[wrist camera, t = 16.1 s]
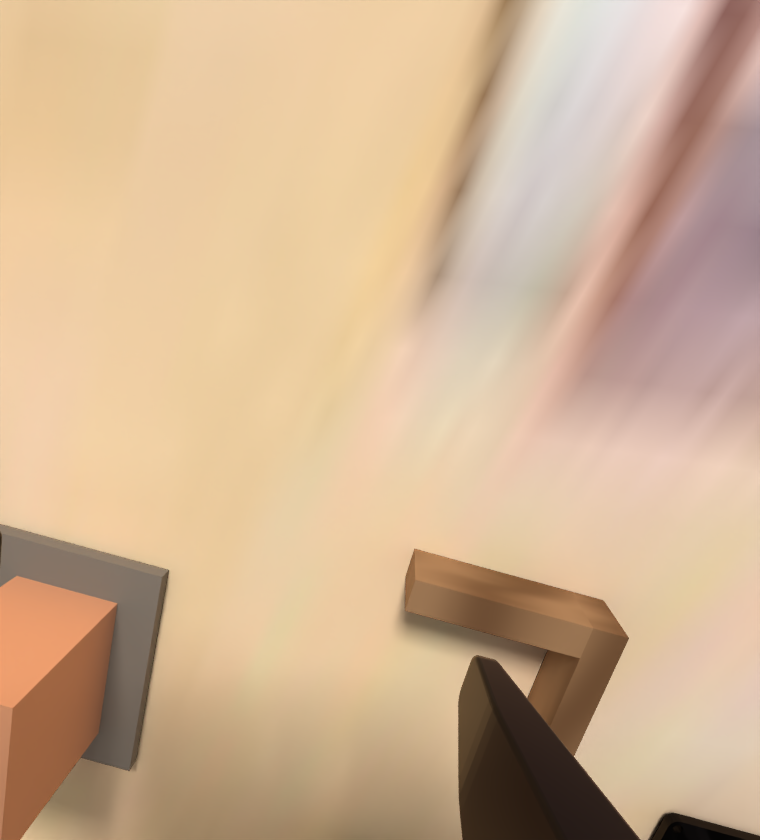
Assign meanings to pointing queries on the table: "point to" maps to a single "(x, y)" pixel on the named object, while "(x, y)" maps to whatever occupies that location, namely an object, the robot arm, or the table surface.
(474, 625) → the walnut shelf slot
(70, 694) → the terracotta blank
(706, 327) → the table surface
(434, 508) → the table surface
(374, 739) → the table surface
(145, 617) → the charcoal mat
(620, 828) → the robot arm
